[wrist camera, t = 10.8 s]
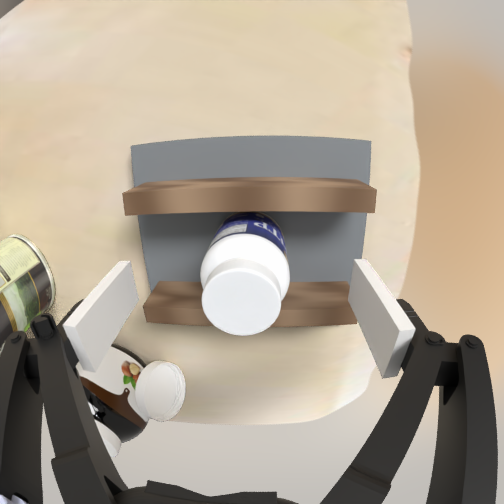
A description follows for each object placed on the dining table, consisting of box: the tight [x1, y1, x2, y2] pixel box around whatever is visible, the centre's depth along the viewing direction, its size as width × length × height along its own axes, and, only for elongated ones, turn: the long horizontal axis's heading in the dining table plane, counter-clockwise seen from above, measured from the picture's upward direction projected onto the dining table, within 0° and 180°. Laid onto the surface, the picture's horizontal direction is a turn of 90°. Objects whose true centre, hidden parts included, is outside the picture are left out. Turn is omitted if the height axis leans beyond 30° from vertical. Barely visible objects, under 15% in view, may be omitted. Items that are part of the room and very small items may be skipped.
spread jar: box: [76, 344, 186, 457], centre depth 25 cm, size 12×11×12 cm
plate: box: [131, 136, 371, 293], centre depth 23 cm, size 18×16×1 cm
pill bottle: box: [200, 211, 290, 336], centre depth 18 cm, size 5×5×9 cm
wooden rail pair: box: [122, 177, 377, 327], centre depth 20 cm, size 16×10×4 cm, turn 91°
